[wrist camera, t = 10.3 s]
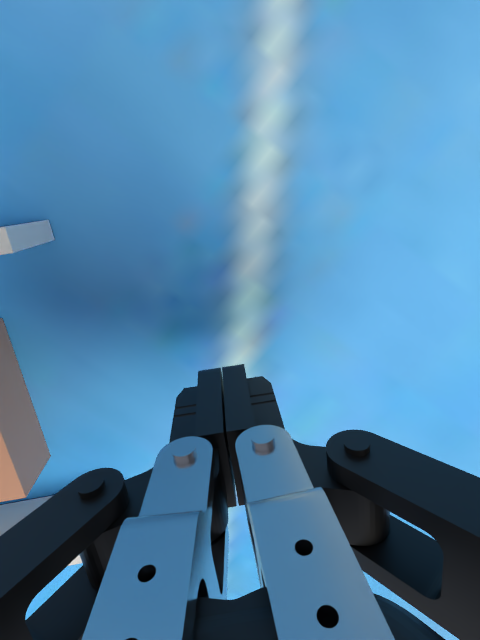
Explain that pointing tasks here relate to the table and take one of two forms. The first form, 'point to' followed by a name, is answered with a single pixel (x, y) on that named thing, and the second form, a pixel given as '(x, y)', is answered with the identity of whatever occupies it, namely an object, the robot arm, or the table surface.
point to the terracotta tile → (17, 428)
